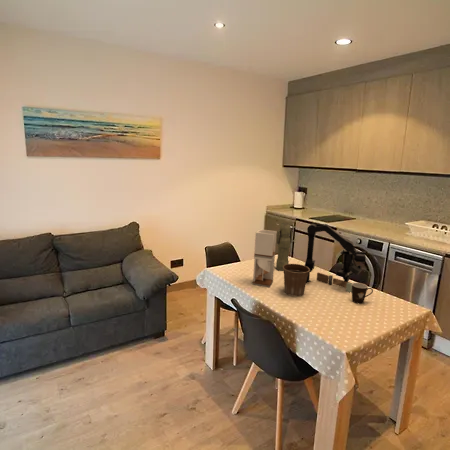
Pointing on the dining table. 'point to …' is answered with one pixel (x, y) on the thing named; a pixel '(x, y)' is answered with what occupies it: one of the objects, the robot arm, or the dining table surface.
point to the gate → (340, 282)
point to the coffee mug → (359, 292)
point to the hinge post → (324, 278)
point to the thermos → (283, 245)
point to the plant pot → (295, 279)
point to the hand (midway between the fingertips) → (346, 283)
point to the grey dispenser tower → (264, 258)
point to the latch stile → (349, 287)
